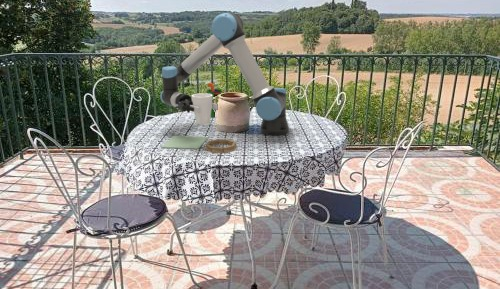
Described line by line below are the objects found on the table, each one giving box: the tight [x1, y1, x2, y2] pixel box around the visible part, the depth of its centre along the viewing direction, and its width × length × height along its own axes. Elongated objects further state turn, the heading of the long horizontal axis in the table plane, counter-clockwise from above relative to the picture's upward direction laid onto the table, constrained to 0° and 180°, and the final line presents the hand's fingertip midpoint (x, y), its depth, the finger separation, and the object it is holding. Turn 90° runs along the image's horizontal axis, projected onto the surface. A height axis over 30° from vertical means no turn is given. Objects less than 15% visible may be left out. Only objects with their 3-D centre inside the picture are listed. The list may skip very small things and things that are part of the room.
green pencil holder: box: [205, 82, 222, 119], centre depth 238 cm, size 10×9×20 cm
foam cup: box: [191, 92, 213, 126], centre depth 180 cm, size 10×9×13 cm
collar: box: [205, 138, 237, 154], centre depth 182 cm, size 13×13×2 cm
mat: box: [161, 135, 209, 150], centre depth 191 cm, size 18×18×1 cm
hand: (208, 108), depth 176 cm, fingers closed on foam cup, 9 cm apart
